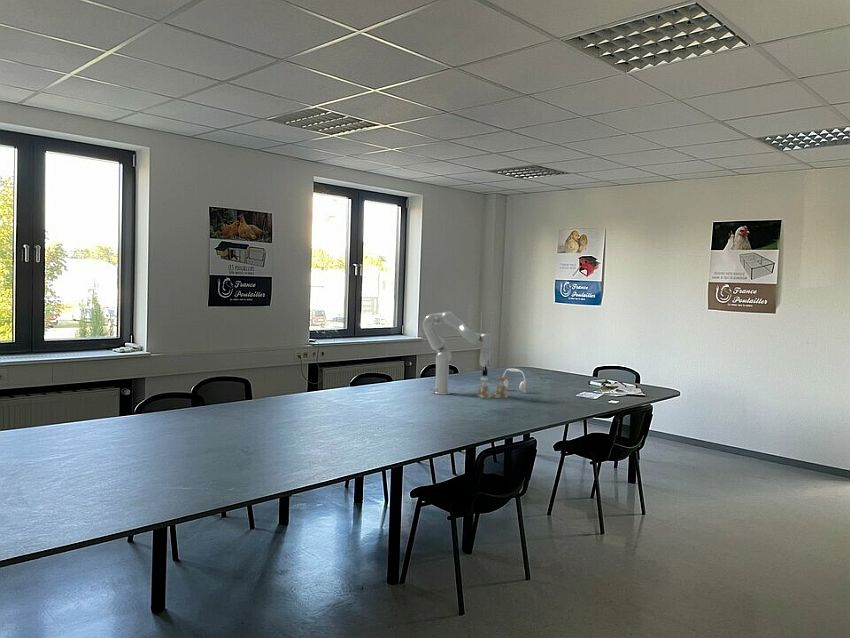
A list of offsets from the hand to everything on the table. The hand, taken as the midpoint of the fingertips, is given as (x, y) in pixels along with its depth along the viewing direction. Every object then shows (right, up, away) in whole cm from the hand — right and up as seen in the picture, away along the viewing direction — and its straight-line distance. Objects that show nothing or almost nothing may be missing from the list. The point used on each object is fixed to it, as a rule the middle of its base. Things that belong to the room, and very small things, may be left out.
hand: (484, 375), depth 463 cm
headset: (+25, -15, +30) cm, 42 cm away
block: (+6, -16, +3) cm, 17 cm away
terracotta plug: (+13, -10, +5) cm, 17 cm away
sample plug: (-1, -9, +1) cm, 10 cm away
